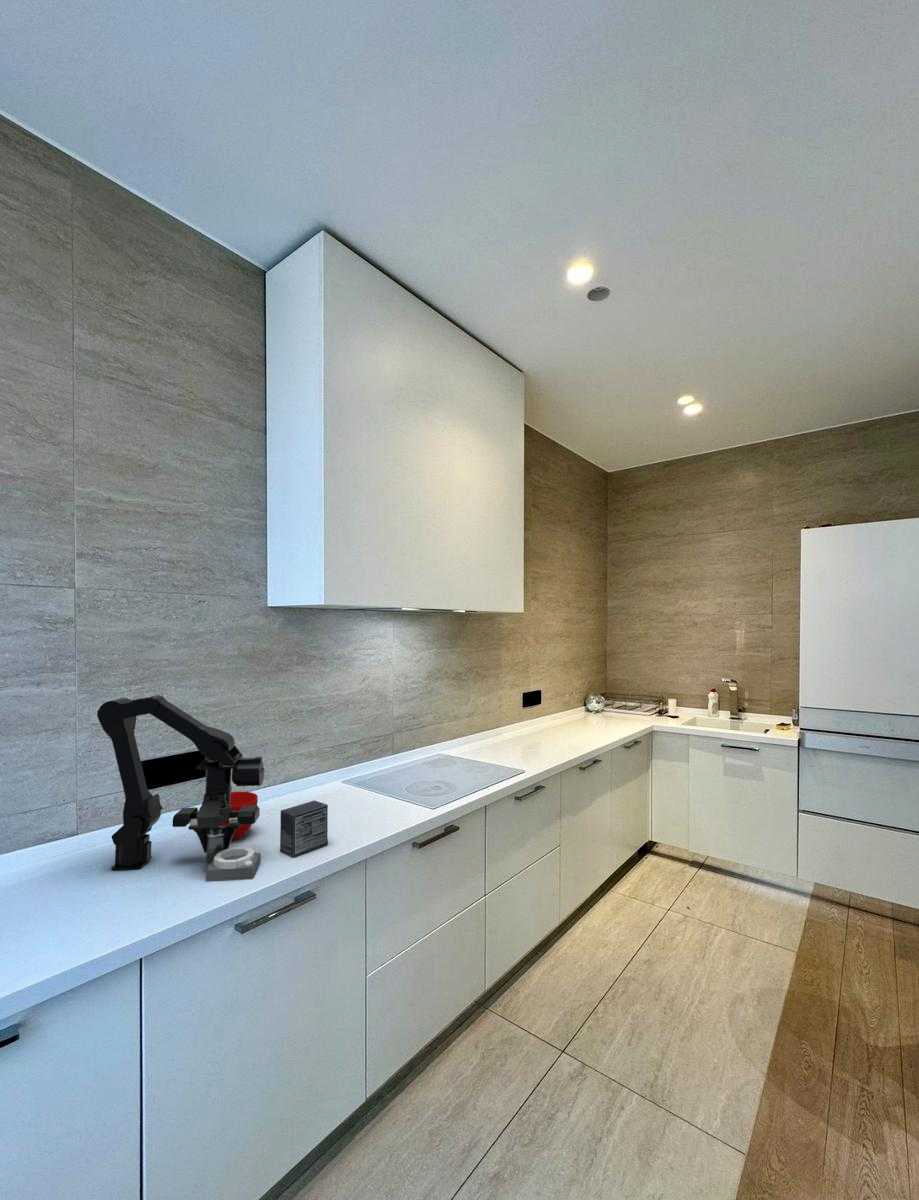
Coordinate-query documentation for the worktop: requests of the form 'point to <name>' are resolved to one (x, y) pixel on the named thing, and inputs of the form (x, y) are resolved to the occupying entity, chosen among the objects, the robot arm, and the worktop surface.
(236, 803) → the ceramic cup
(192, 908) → the worktop surface
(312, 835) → the small box
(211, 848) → the lens
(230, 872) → the camera body mount
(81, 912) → the worktop surface
